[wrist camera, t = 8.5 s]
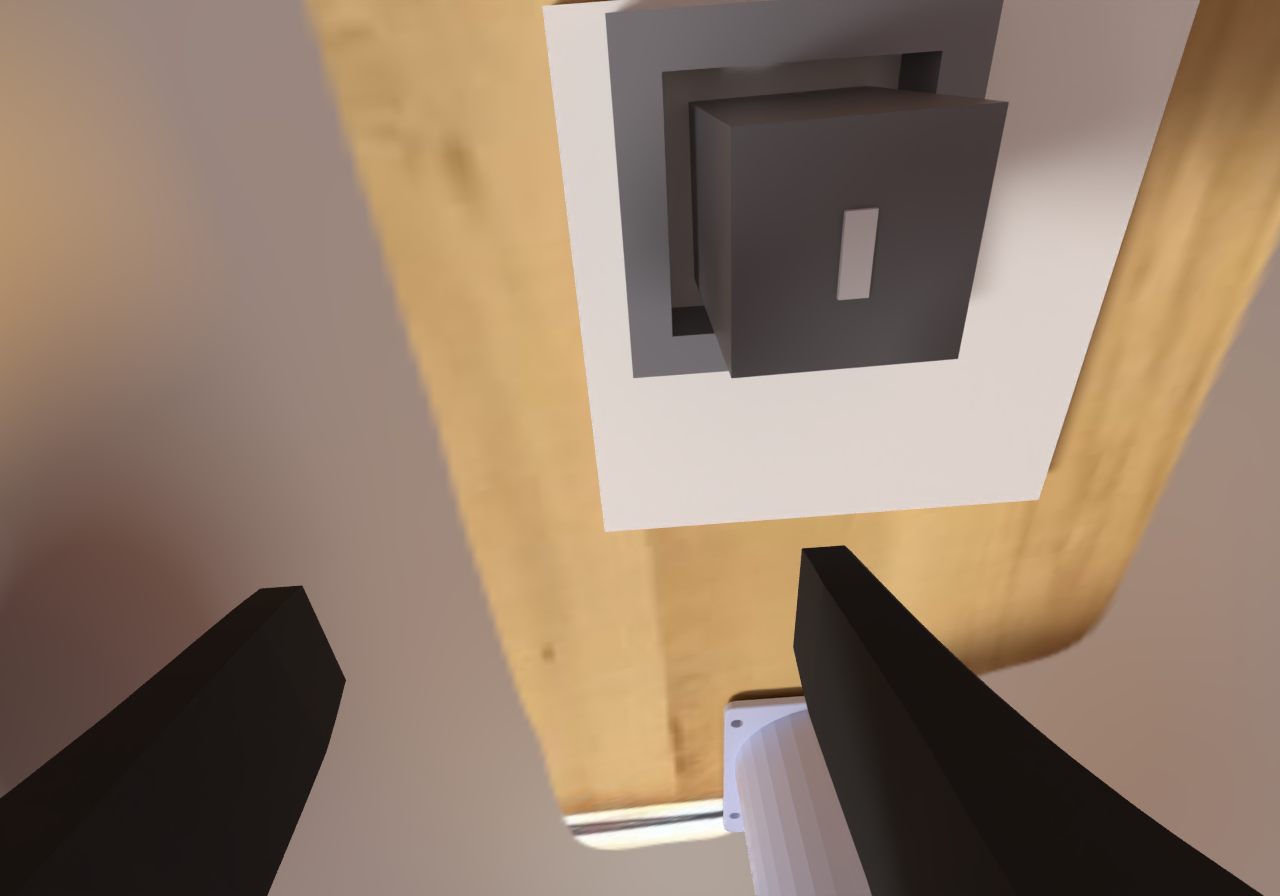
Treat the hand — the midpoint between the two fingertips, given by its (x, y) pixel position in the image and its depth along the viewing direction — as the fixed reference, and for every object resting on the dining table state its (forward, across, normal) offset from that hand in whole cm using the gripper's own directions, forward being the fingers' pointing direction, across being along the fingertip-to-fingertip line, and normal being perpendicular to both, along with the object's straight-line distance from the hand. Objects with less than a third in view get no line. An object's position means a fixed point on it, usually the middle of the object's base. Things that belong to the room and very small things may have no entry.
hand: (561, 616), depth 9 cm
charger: (+9, -5, -4) cm, 11 cm away
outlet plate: (+10, -7, -1) cm, 13 cm away
